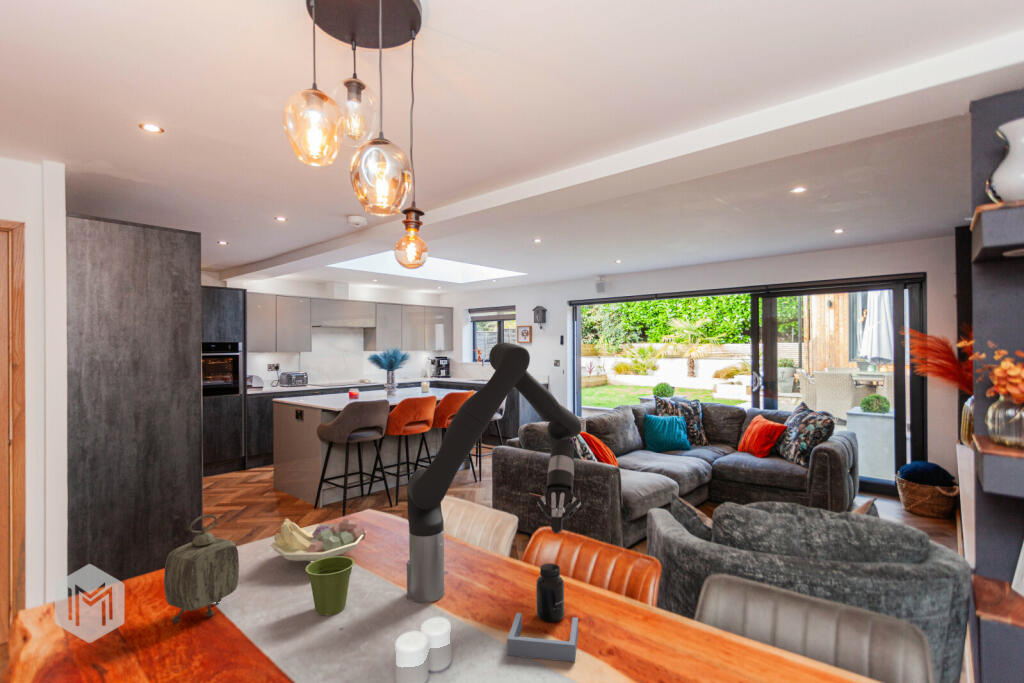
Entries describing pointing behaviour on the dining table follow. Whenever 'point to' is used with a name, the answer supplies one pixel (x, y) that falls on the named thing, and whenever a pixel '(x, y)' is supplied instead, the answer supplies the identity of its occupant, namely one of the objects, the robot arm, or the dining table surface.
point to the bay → (542, 644)
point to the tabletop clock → (201, 571)
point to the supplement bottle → (550, 593)
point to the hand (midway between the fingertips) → (556, 532)
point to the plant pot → (330, 583)
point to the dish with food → (317, 540)
